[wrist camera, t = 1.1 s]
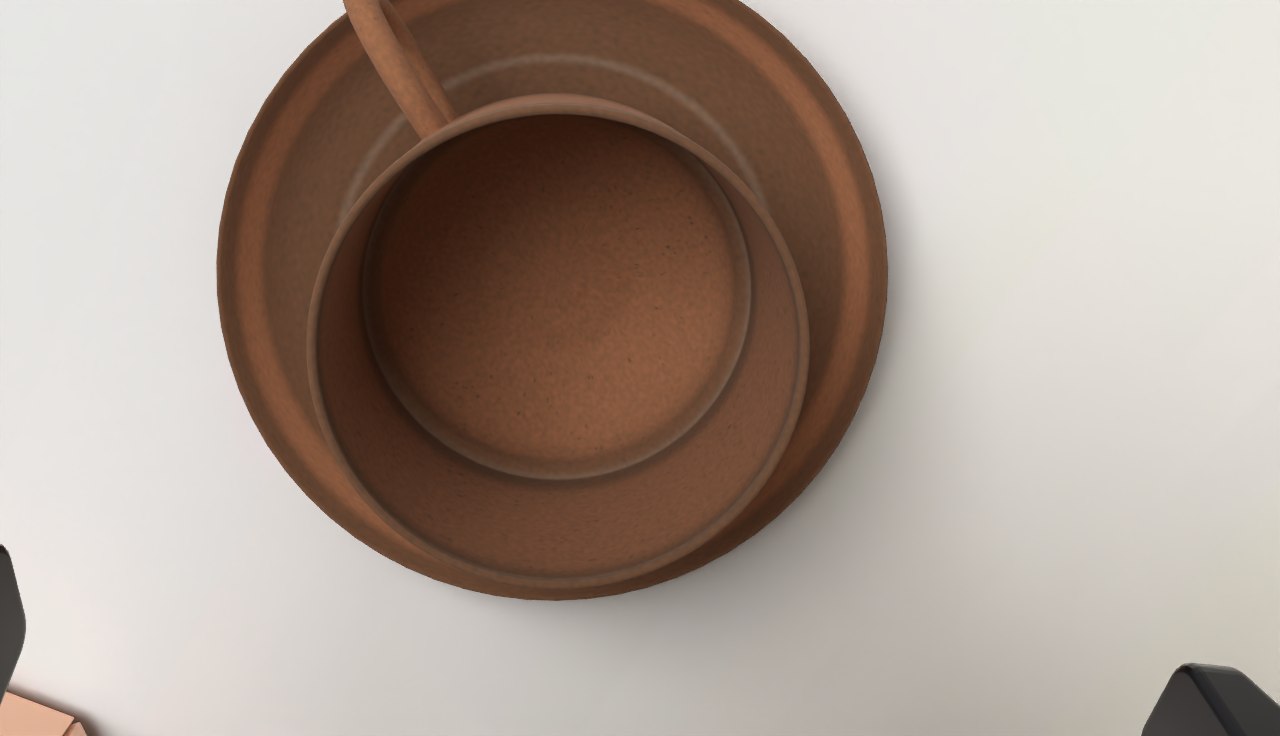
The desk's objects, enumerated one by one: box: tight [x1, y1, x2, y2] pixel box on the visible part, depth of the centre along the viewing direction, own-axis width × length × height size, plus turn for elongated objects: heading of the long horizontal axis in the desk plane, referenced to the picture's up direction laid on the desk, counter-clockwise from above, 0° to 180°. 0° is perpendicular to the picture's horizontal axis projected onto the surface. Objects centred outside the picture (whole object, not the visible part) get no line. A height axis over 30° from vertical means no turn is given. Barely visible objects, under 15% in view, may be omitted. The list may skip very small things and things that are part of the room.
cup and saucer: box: [217, 0, 888, 601], centre depth 20 cm, size 12×12×6 cm
